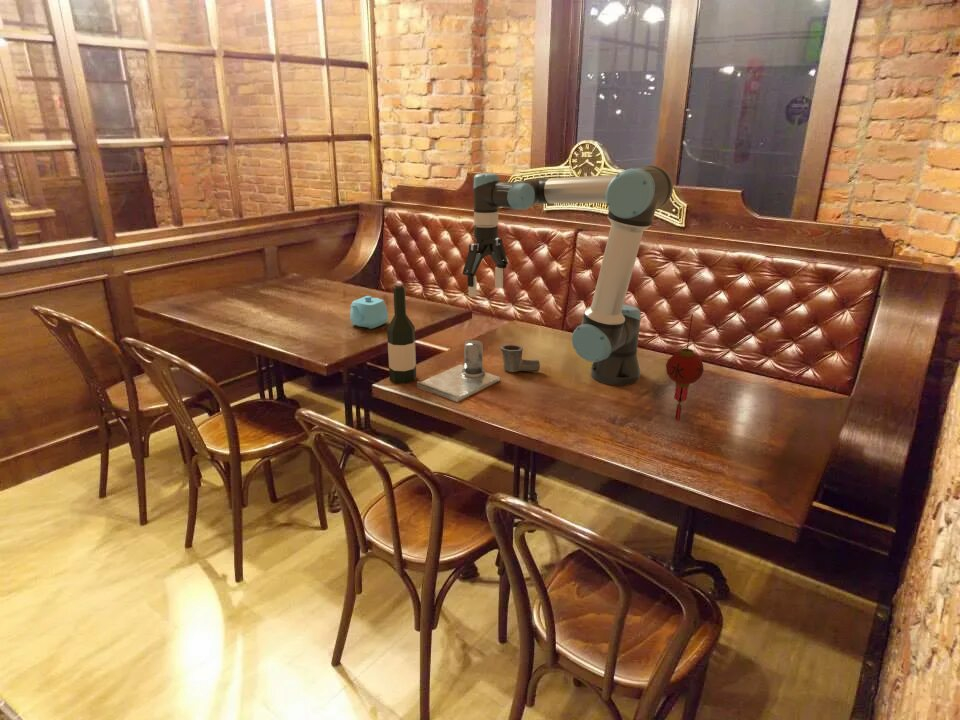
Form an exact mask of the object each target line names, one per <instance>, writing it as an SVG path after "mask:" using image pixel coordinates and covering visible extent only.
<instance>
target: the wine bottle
mask: <svg viewBox="0 0 960 720" xmlns="http://www.w3.org/2000/svg"><path fill="white" fill-rule="evenodd" d="M392 289H393V290H392V291H393V309H394V315H393V318H392V319H391V321H390V322H389V325H388V327H387V328H386V332H387V333H386V334H387V335H386V337H387V353H388V355H387V356H388V371H389V373H388V374H389V376H388V377H389V381H390V382H393V383H394V384H401V385H405V384H410V383H413V382H415V380H416V379H417V360H416V359H417V358H416V357H417V355H416V333H415V332H416V330H415V325H414V324H413V322H412V321H411V320H410V318H409V316H408V315H407V309H406V308H407V304H406V302H407V301H406V287H405V286H404V284H403V283H396V284H394V286H393V288H392Z"/></svg>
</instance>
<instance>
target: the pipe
mask: <svg viewBox="0 0 960 720" xmlns="http://www.w3.org/2000/svg"><path fill="white" fill-rule="evenodd" d="M500 351H501V354H502V361H503V370H504V371H506V372H508V373H516V372H517V373H518V372H529V373H530V372H540V369H541V368H540V366H541V364H540V361H539V360H538V359H523V352H524V348H523V347H522V346H520V345H516V344H504V345H500Z"/></svg>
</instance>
